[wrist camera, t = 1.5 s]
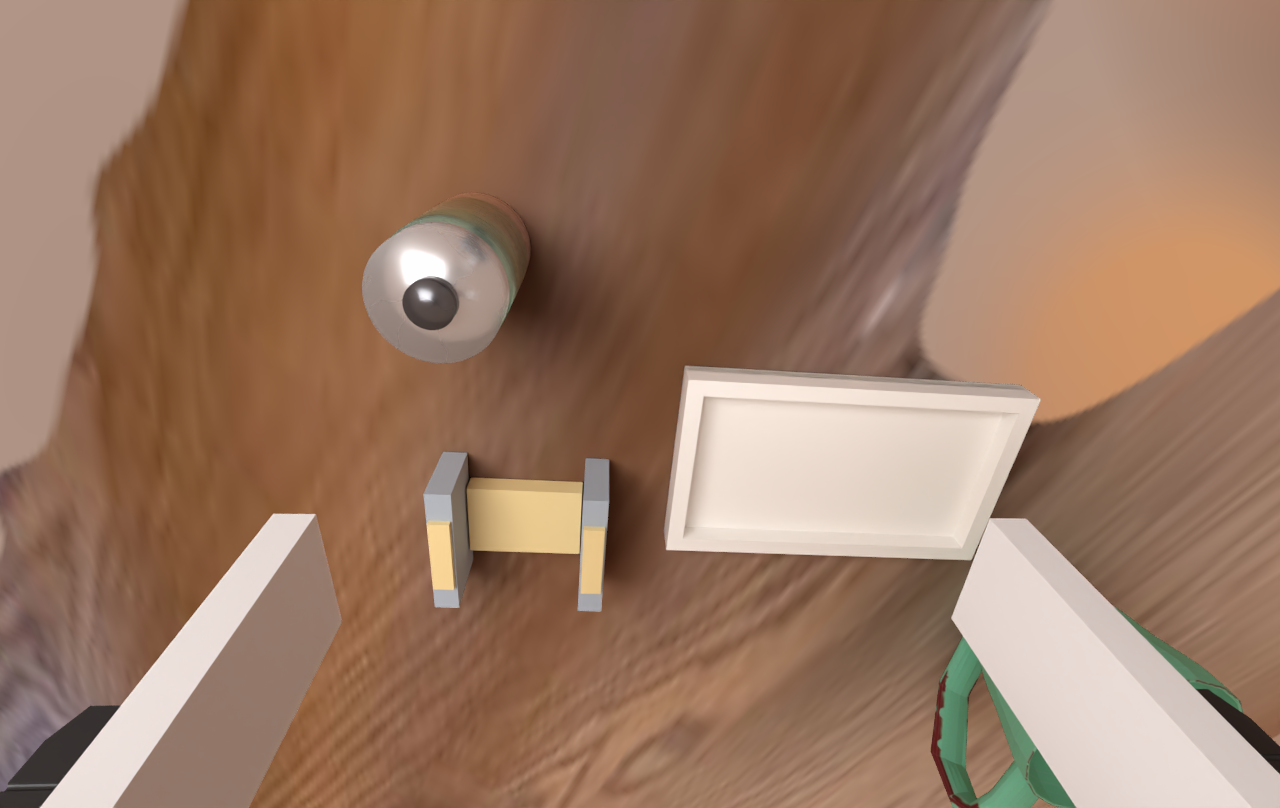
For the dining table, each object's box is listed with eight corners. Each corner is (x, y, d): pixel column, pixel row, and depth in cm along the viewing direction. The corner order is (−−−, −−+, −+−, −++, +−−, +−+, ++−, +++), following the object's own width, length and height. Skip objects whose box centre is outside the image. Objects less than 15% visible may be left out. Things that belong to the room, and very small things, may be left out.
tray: (684, 365, 29) (688, 379, 27) (1020, 385, 30) (1041, 399, 29) (663, 530, 33) (666, 549, 32) (956, 541, 35) (971, 560, 33)
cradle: (443, 451, 30) (421, 498, 27) (609, 459, 31) (609, 505, 28) (451, 558, 34) (433, 611, 30) (601, 563, 34) (601, 615, 31)
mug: (1012, 504, 34) (1155, 651, 25) (1124, 567, 36) (1290, 722, 27) (843, 663, 39) (912, 831, 30) (952, 708, 42) (1043, 875, 33)
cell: (420, 186, 25) (343, 226, 17) (531, 195, 25) (500, 237, 18) (429, 293, 27) (363, 367, 20) (532, 300, 27) (504, 375, 20)
